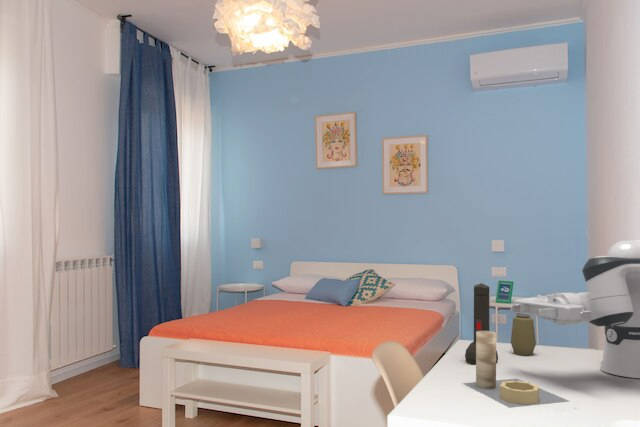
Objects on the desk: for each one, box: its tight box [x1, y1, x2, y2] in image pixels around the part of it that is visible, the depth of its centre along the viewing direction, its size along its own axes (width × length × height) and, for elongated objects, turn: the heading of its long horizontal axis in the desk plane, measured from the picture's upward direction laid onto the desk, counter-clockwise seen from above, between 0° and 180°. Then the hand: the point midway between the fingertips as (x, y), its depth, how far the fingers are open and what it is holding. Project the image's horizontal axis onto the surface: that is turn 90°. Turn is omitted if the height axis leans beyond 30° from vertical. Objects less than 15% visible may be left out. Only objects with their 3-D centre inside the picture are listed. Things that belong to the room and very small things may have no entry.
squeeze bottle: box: [510, 313, 537, 356], centre depth 184 cm, size 8×8×18 cm
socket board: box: [462, 378, 569, 408], centre depth 138 cm, size 17×20×4 cm
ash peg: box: [475, 330, 497, 389], centre depth 143 cm, size 5×5×14 cm
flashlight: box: [464, 282, 499, 366], centre depth 172 cm, size 10×25×10 cm
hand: (524, 310), depth 147 cm, fingers open, 8 cm apart
